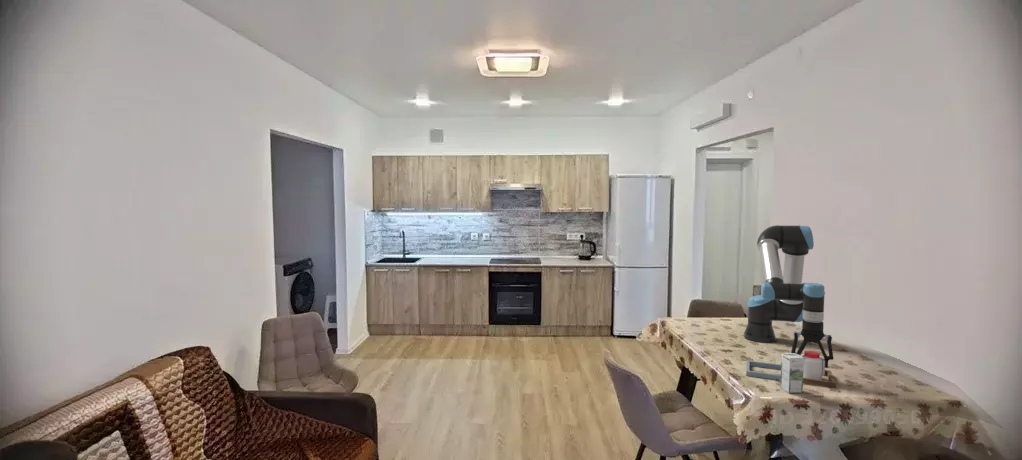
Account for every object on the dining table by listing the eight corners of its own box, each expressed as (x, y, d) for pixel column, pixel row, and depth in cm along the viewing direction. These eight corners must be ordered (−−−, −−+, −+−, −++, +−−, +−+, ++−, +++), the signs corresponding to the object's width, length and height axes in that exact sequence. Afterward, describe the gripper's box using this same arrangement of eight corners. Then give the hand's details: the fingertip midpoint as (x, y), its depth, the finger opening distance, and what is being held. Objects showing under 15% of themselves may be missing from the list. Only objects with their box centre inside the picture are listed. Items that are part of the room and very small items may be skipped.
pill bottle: (811, 382, 199) (812, 356, 198) (796, 375, 207) (796, 350, 206) (826, 380, 201) (827, 354, 200) (810, 373, 209) (811, 348, 208)
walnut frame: (788, 369, 214) (789, 365, 214) (830, 375, 207) (830, 370, 207) (791, 381, 200) (791, 377, 200) (835, 387, 193) (836, 383, 193)
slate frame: (746, 364, 222) (746, 360, 221) (784, 369, 215) (784, 364, 215) (746, 375, 208) (746, 371, 208) (787, 381, 201) (787, 376, 201)
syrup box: (793, 387, 194) (794, 352, 194) (803, 393, 189) (804, 357, 188) (780, 387, 194) (780, 352, 193) (788, 393, 188) (789, 357, 187)
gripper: (785, 320, 203) (784, 372, 205) (843, 325, 194) (842, 380, 196) (784, 315, 210) (782, 366, 212) (840, 320, 201) (838, 374, 203)
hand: (811, 373), depth 204 cm, fingers closed on pill bottle, 8 cm apart
